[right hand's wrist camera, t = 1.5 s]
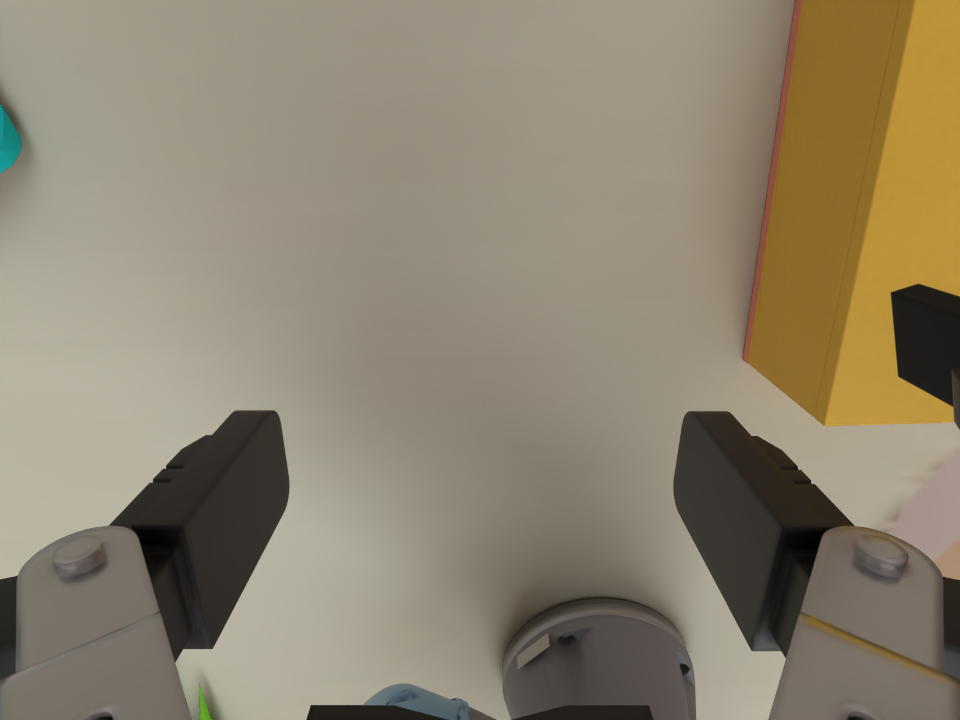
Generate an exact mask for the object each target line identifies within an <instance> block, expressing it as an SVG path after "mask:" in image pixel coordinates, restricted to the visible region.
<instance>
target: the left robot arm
mask: <svg viewBox="0 0 960 720" xmlns="http://www.w3.org/2000/svg"><path fill="white" fill-rule="evenodd" d="M891 302H892V314H893V325H894V336H895V347H896V359H897V370H898V377H900V378H901V379H903V380H905V381H907V382H909V383H910V384H912V385H914V386H916V387H918V388H919V389H921V390H923V391H925V392H927V393H929V394H930V395H932V396H934V397H936V398H938V399H939V400H941V401H943V402H945V403H947V404H948V405H950V406H952V407H953V409H954V422H955V423H956V425H957V426H958V428H959V429H960V296H957V295H953V294H950V293H947V292H944V291H941V290H938V289H934V288H931V287H928V286H925V285H922V284H919V283H918V284H915V285H912V286H909V287H906V288H903V289H899V290H896V291H893V292H891ZM503 693H504V699H505V702H506V705H507V709H508V712H509V714H510V717H511V719H516V718H520V717H523V716H527V715H531V714H535V713H539V712H542V711H546V710H550V709H554V708H558V707H561V706H565V705H649V707H650V710H651V713H652V717H653V720H696V701H695V679H694V671H693V666H692V662H691V660H690V657H689V655H688V652H687V650H686V647H685V645H684V642H683V640H682V638H681V636H680V634H679V633H678V631H677V630H676V629H675V628H674V626H673V625H672V624H671V623H670V622H669V621H668V620H666V619H665V618H664V617H663V616H661V615H660V614H658V613H657V612H655V611H653V610H651V609H649V608H647V607H644V606H642V605H639V604H636V603H633V602H629V601H624V600H618V599H606V598H598V599H585V600H579V601H574V602H570V603H566V604H563V605H560V606H557V607H555V608H552V609H550V610H548V611H546V612H544V613H542V614H540V615H539V616H537V617H535V618H534V619H533V620H531V621H530V622H529V623H527V624H526V625H525V626H524V627H523V628H522V629H521V630H520V631H519V632H518V633H517V634H516V636H515V637H514V638H513V640H512V641H511V643H510V645H509V647H508V649H507V651H506V654H505V657H504V661H503ZM364 705H395V706H399V707H402V708H406V709H410V710H414V711H418V712H421V713H425V714H429V715H433V716H437V717H440V718H444V719H448V720H496V719H494V718H492V717H490V716H487V715H485V714H483V713H481V712H479V711H477V710H475V709H473V708H471V707H469V706H468V703H467V702H466V701H464V700H461V699H457V698H454V699H448V698H445V697H443V696H440V695H438V694H435V693H433V692H430V691H428V690H425V689H423V688H420V687H418V686H415V685H412V684H396V685H392V686H389V687H387V688H385V689H383V690H381V691H379V692H378V693H377V694H375V695H374V696H372V697H371V698H370V699H369V700H368V701H367V702H366V703H365V704H364Z"/></svg>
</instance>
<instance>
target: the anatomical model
mask: <svg viewBox="0 0 960 720" xmlns="http://www.w3.org/2000/svg"><path fill="white" fill-rule="evenodd" d="M21 147H22V143H21V137H20V135H19V133H18V132H17V130H16V129H15V127H14V125H13V124H12V122H11V120H10V118H9V116H8V114H7V113H6V111H5V110H4V108H3V107H2V105H0V173H2V172H3V171H4V170H6V169H7V168H9V167H10V166H12V165H13V164H14V162H15V161H16V159H17V157H18V156H19V154H20V151H21Z"/></svg>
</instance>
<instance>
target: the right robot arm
mask: <svg viewBox="0 0 960 720" xmlns="http://www.w3.org/2000/svg"><path fill="white" fill-rule="evenodd" d="M288 497H289V475H288V468H287V461H286V455H285V448H284V441H283V434H282V428H281V422H280V418H279V415H278V414H277V412H276V411H234V412H233V413H232V414H231V415H230V416H229V417H228V418H227V419H226V420H225V421H224V422H223V424H222V425H221V426H220V427H219V428H218V429H217V430H216V431H215V433H214V434H213V435H205V436H204V437H202V438H200V439H199V440H197V441H195V442H193V443H192V444H190V445H188V446H186V447H185V448H183V449H182V450H181V451H180V452H179V453H178V454H177V455H176V456H175V457H174V458H173V459H172V460H171V461H170V462H169V463H168V464H167V465H166V469H162V471H161V472H160V473H159V474H158V475H157V476H156V477H155V478H154V479H153V483H149V484H148V485H147V486H146V487H145V488H144V489H143V490H142V491H141V493H140V494H139V495H138V496H137V497H136V498H135V499H134V500H133V501H132V502H131V503H130V504H129V505H128V506H127V507H126V508H125V509H124V510H123V511H122V512H121V513H120V515H119V516H118V517H117V518H116V519H115V520H114V521H113V522H112V523H111V524H110V525H109V526H102V527H95V528H90V529H86V530H83V531H79V532H76V533H73V534H71V535H68V536H66V537H63V538H61V539H59V540H57V541H55V542H53V543H51V544H49V545H48V546H46V547H45V548H43V549H42V550H40V551H39V552H37V553H36V554H35V555H34V556H32V557H31V558H30V559H29V560H28V561H27V562H26V563H25V565H24V566H23V567H22V569H21V570H20V572H19V574H18V576H15V577H10V578H5V579H0V720H191V716H190V713H189V709H188V706H187V702H186V699H185V695H184V692H183V689H182V685H181V682H180V678H179V675H178V671H177V668H176V665H175V662H176V660H177V659H178V657H179V655H180V654H181V652H182V650H183V649H213V647H214V645H215V643H216V641H217V640H218V638H219V636H220V634H221V632H222V630H223V628H224V626H225V624H226V622H227V620H228V619H229V617H230V615H231V613H232V611H233V609H234V607H235V605H236V603H237V601H238V599H239V597H240V596H241V594H242V592H243V590H244V588H245V586H246V584H247V582H248V580H249V578H250V576H251V574H252V573H253V571H254V569H255V567H256V565H257V563H258V561H259V559H260V557H261V555H262V553H263V551H264V550H265V548H266V546H267V544H268V542H269V540H270V538H271V536H272V534H273V532H274V530H275V528H276V527H277V525H278V523H279V521H280V519H281V517H282V515H283V513H284V511H285V509H286V506H287V502H288ZM674 498H675V503H676V507H677V510H678V512H679V514H680V516H681V518H682V520H683V522H684V524H685V526H686V527H687V529H688V531H689V533H690V535H691V537H692V539H693V541H694V543H695V545H696V546H697V548H698V550H699V552H700V554H701V556H702V558H703V560H704V562H705V563H706V565H707V567H708V569H709V571H710V573H711V575H712V577H713V579H714V580H715V582H716V584H717V586H718V588H719V590H720V592H721V594H722V596H723V598H724V599H725V601H726V603H727V605H728V607H729V609H730V611H731V613H732V615H733V616H734V618H735V620H736V622H737V624H738V626H739V628H740V630H741V632H742V633H743V635H744V637H745V639H746V641H747V643H748V645H749V647H750V649H751V650H752V651H782V653H783V654H784V656H785V658H786V661H785V665H784V668H783V671H782V675H781V678H780V682H779V685H778V689H777V692H776V695H775V699H774V702H773V706H772V709H771V713H770V716H769V720H960V580H956V579H951V578H946V577H942V574H941V572H940V570H939V569H938V567H937V566H936V565H935V563H934V562H933V561H932V560H931V559H930V558H929V557H928V556H926V555H925V554H924V553H923V552H921V551H920V550H918V549H917V548H915V547H914V546H912V545H910V544H909V543H907V542H905V541H903V540H901V539H899V538H897V537H894V536H892V535H889V534H887V533H884V532H881V531H877V530H874V529H870V528H865V527H858V526H854V525H853V524H852V523H851V522H850V520H849V519H848V518H847V517H846V516H845V515H844V514H843V513H842V512H841V511H840V510H839V509H838V508H837V507H836V506H835V505H834V504H833V503H832V502H831V501H830V500H829V499H828V498H827V497H826V496H825V495H824V493H823V492H822V491H821V490H820V489H819V488H818V487H817V486H816V485H815V484H811V480H810V479H809V478H808V477H807V476H806V475H805V474H804V473H803V472H802V471H801V470H798V466H797V465H796V464H795V463H794V462H793V461H792V460H791V459H790V458H789V457H788V456H787V455H786V454H785V453H784V452H783V451H782V450H781V449H779V448H777V447H775V446H774V445H772V444H770V443H768V442H767V441H765V440H763V439H762V438H760V437H758V436H751V435H750V434H749V433H748V432H747V431H746V429H745V428H744V427H743V426H742V425H741V424H740V423H739V422H738V421H737V420H736V418H735V417H734V416H733V415H732V414H731V413H730V412H727V411H689V412H687V413H686V415H685V417H684V419H683V423H682V429H681V435H680V442H679V449H678V455H677V462H676V469H675V475H674ZM307 720H448V719H444V718H440V717H437V716H433V715H429V714H425V713H421V712H418V711H414V710H410V709H406V708H402V707H399V706H395V705H311V707H310V710H309V713H308V717H307ZM512 720H653V717H652V713H651V710H650V707H649V705H565V706H561V707H558V708H554V709H550V710H546V711H542V712H539V713H535V714H531V715H527V716H523V717H520V718H516V719H512Z"/></svg>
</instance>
